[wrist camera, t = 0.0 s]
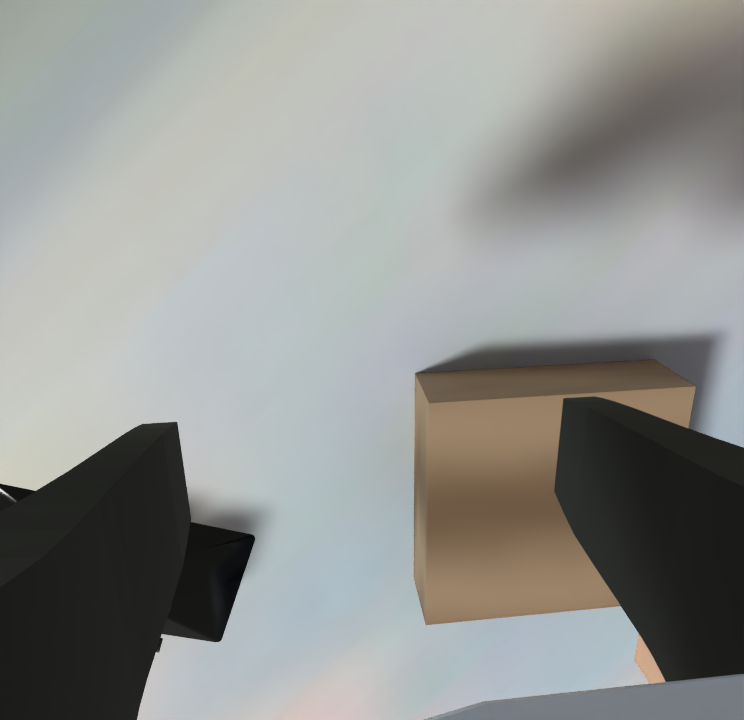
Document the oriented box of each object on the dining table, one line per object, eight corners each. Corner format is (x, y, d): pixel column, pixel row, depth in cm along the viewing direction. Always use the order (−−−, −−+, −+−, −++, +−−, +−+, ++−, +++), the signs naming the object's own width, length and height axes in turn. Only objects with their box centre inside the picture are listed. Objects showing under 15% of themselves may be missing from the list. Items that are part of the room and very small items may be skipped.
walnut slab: (619, 552, 26) (657, 602, 24) (412, 570, 26) (425, 624, 23) (648, 355, 23) (695, 386, 20) (413, 369, 22) (428, 403, 20)
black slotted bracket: (299, 518, 24) (299, 601, 20) (254, 658, 26) (244, 759, 22) (-41, 448, 22) (-125, 525, 18) (-60, 608, 24) (-138, 712, 20)
